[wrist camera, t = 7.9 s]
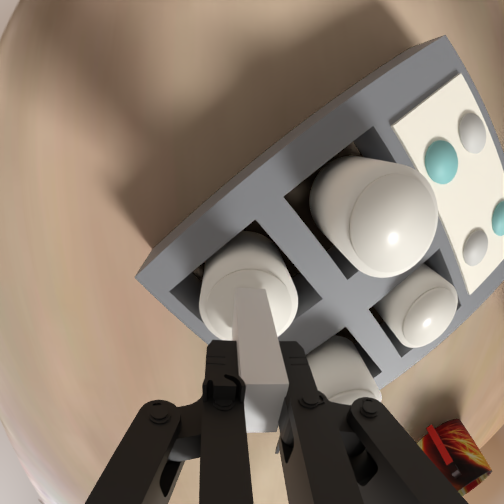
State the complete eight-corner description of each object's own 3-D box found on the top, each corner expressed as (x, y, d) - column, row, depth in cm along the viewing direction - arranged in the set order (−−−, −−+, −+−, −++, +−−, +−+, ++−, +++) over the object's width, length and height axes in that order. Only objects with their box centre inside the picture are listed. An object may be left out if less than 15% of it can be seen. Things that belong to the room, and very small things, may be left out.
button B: (336, 323, 20) (363, 374, 15) (367, 360, 21) (394, 408, 16) (276, 364, 21) (288, 420, 16) (313, 395, 22) (329, 446, 17)
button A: (408, 239, 21) (449, 267, 16) (430, 284, 22) (466, 315, 17) (356, 282, 21) (387, 321, 17) (383, 322, 23) (413, 362, 18)
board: (410, 48, 16) (449, 33, 11) (496, 235, 22) (530, 253, 17) (152, 249, 20) (132, 281, 15) (307, 391, 26) (319, 431, 21)
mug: (426, 418, 31) (462, 481, 20) (469, 418, 34) (500, 465, 23) (383, 458, 34) (408, 518, 23) (432, 453, 37) (456, 501, 26)
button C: (360, 138, 16) (410, 140, 11) (402, 207, 17) (454, 233, 12) (291, 192, 16) (317, 216, 11) (341, 259, 18) (377, 301, 13)
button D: (249, 214, 19) (256, 241, 14) (297, 271, 21) (317, 311, 16) (189, 265, 20) (177, 305, 15) (240, 314, 22) (243, 363, 17)
